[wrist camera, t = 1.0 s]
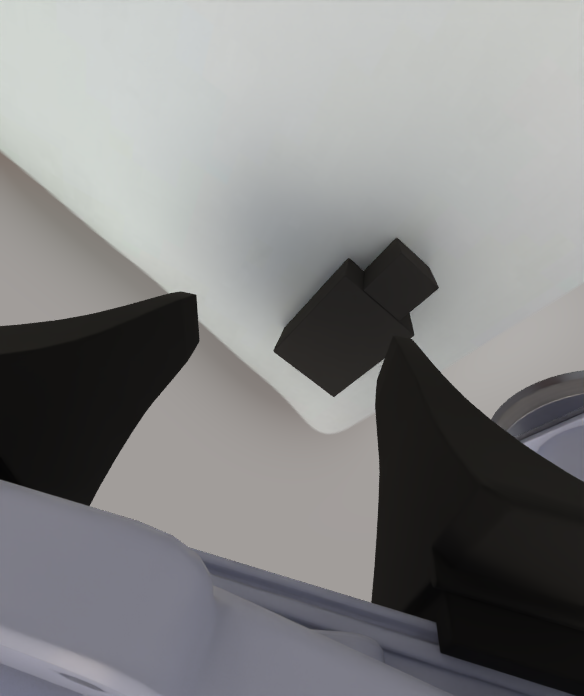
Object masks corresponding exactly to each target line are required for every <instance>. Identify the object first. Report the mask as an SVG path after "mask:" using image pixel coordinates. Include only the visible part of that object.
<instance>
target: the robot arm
mask: <svg viewBox="0 0 584 696" xmlns="http://www.w3.org/2000/svg"><path fill="white" fill-rule="evenodd" d="M198 343H199V328H198V313H197V298H196V295H195V294H190V293H185V292H175V293H170V294H166V295H162V296H158V297H155V298H151V299H147V300H144V301H140V302H137V303H133V304H130V305H126V306H122V307H118V308H114V309H110V310H106V311H102V312H98V313H94V314H89V315H84V316H79V317H73V318H67V319H62V320H55V321H47V322H38V323H30V324H21V325H10V326H0V696H584V413H582V414H580V415H577V416H575V417H573V418H571V419H568V420H566V421H564V422H561V423H559V424H557V425H555V426H552V427H550V428H548V429H545V430H543V431H541V432H538V433H536V434H534V435H532V436H529V437H527V438H525V439H522V440H520V441H519V440H517V439H516V438H515V437H513V436H512V435H510V434H509V433H508V432H506V431H505V430H504V429H502V428H501V427H499V426H498V425H497V424H496V423H494V422H493V421H492V420H490V419H489V418H488V417H487V416H486V415H484V414H483V413H482V412H481V411H480V410H479V409H477V408H476V407H475V406H474V405H473V404H471V403H470V402H469V401H468V400H467V399H466V398H465V397H464V396H463V395H462V394H461V393H460V392H459V391H458V390H457V389H456V388H455V387H454V386H453V385H452V384H451V383H450V382H449V381H448V380H447V379H446V378H445V377H444V376H443V375H442V374H441V372H440V371H439V370H438V369H437V368H436V367H435V366H434V364H433V363H432V362H431V361H430V360H429V359H428V357H427V356H426V355H425V354H424V353H423V352H422V350H421V349H420V348H419V347H418V346H417V344H416V343H415V342H414V341H413V340H412V339H410V338H405V337H400V336H395V335H393V337H392V339H391V342H390V345H389V348H388V351H387V354H386V356H385V359H384V362H383V365H382V368H381V371H380V373H379V376H378V379H377V386H376V400H375V409H376V424H377V436H378V450H379V466H380V467H379V469H380V476H379V477H380V478H379V503H378V522H377V539H376V553H375V568H374V579H373V590H372V602H371V603H370V602H367V601H364V600H360V599H357V598H353V597H351V596H347V595H344V594H341V593H337V592H334V591H331V590H327V589H324V588H321V587H318V586H314V585H311V584H308V583H305V582H301V581H298V580H295V579H291V578H288V577H284V576H281V575H278V574H275V573H271V572H268V571H265V570H262V569H258V568H255V567H252V566H249V565H245V564H242V563H239V562H236V561H232V560H228V559H226V558H222V557H219V556H216V555H213V554H209V553H205V552H203V551H199V550H196V549H193V548H190V547H188V546H186V545H185V544H184V543H182V542H181V541H179V540H178V539H177V538H175V537H174V536H173V535H170V534H168V533H166V532H163V531H161V530H158V529H156V528H154V527H151V526H149V525H147V524H144V523H142V522H140V521H137V520H134V519H130V518H126V517H124V516H120V515H116V514H113V513H110V512H107V511H104V510H100V509H97V508H93V507H90V504H91V502H92V500H93V498H94V496H95V494H96V492H97V490H98V489H99V487H100V485H101V483H102V482H103V479H104V478H105V476H106V475H107V473H108V471H109V469H110V468H111V466H112V464H113V462H114V461H115V459H116V457H117V456H118V454H119V452H120V451H121V449H122V447H123V446H124V444H125V443H126V441H127V439H128V438H129V436H130V435H131V433H132V432H133V430H134V429H135V427H136V425H137V424H138V422H139V421H140V420H141V418H142V417H143V415H144V414H145V412H146V411H147V410H148V408H149V407H150V406H151V404H152V403H153V402H154V400H155V399H156V398H157V397H158V396H159V395H160V393H161V392H162V391H163V390H164V389H165V388H166V386H167V385H168V384H169V383H170V382H171V380H172V379H173V378H174V377H175V376H176V374H177V373H178V372H179V371H180V370H181V368H182V367H183V366H184V365H185V364H186V362H187V361H188V359H189V358H190V356H191V355H192V353H193V351H194V350H195V348H196V346H197V344H198Z"/></svg>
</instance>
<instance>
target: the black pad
mask: <svg viewBox="0 0 584 696" xmlns="http://www.w3.org/2000/svg"><path fill="white" fill-rule="evenodd" d="M438 288H439V287H438V285H437V283H436V281H435V278H434V276H433V274H432V272H431V270H430V268H429V267H428V266H427V265H426V264H425V263H424V262H423V261H422V260H421V259H420V258H418V257H417V256H416V255H415V254H414V253H413V252H412V251H411V250H410V249H409V248H408V247H407V246H406V245H405V244H404V243H402V242H401V241H400V240H399V239H398V238H396V239H395V240H394V241H393V242H392V243H391V244H390V245H389V246H388V247H387V248H386V249H385V250H384V251H383V252H382V253H381V254H380V255H379V256H378V257H377V258H376V259H375V260H374V261H373V262H372V263H371V264H370V265H369V266H368V267H367V268H366V269H365V271H363V270H362V269H361V268H360V267H359V266H357V265H356V264H355V263H354V262H353V261H352V260H351V259H349V258H348V259H347V260H346V261H345V262H344V263H343V264H342V266H341V267H340V268H339V269H338V270H337V271H336V272H335V273H334V274H333V275H332V276H331V278H330V279H329V280H328V281H327V282H326V283H325V284H324V285H323V286H322V287H321V288H320V290H319V291H318V292H317V293H316V294H315V295H314V296H313V297H312V298H311V299H310V300H309V302H308V303H307V304H306V305H305V306H304V307H303V308H302V309H301V310H300V311H299V312H298V314H297V315H296V316H295V317H294V318H293V319H292V320H291V321H290V322H289V323H288V324H287V326H286V327H285V328H284V330H283V332H282V334H281V336H280V338H279V340H278V342H277V344H276V346H275V349H274V352H275V353H276V354H277V355H279V356H280V357H281V358H283V359H284V360H285V361H287V362H288V363H289V364H291V365H292V366H293V367H295V368H296V369H297V370H299V371H300V372H301V373H303V374H304V375H305V376H307V377H308V378H309V379H310V380H312V381H313V382H314V383H316V384H317V385H318V386H320V387H321V388H322V389H324V390H325V391H326V392H328V393H329V394H330V395H332V396H333V397H335V396H336V395H337V394H338V393H340V392H341V391H342V390H344V389H345V388H346V387H348V386H349V385H350V384H352V383H353V382H354V381H355V380H357V379H358V378H359V377H361V376H362V375H363V374H365V373H366V372H367V371H369V370H370V369H371V368H372V367H374V366H375V365H376V364H378V363H379V362H380V361H382V360H383V359H384V358H385V356H386V354H387V351H388V348H389V345H390V342H391V339H392V337H393V335H395V336H400V337H405V338H412V337H413V336H414V331H413V327H412V322H411V318H410V314H409V312H410V311H412V310H413V309H414V308H415V307H417V306H418V305H419V304H420V303H421V302H423V301H424V300H425V299H426V298H427V297H429V296H430V295H431V294H432V293H434V292H435V291H436V290H437V289H438Z"/></svg>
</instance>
